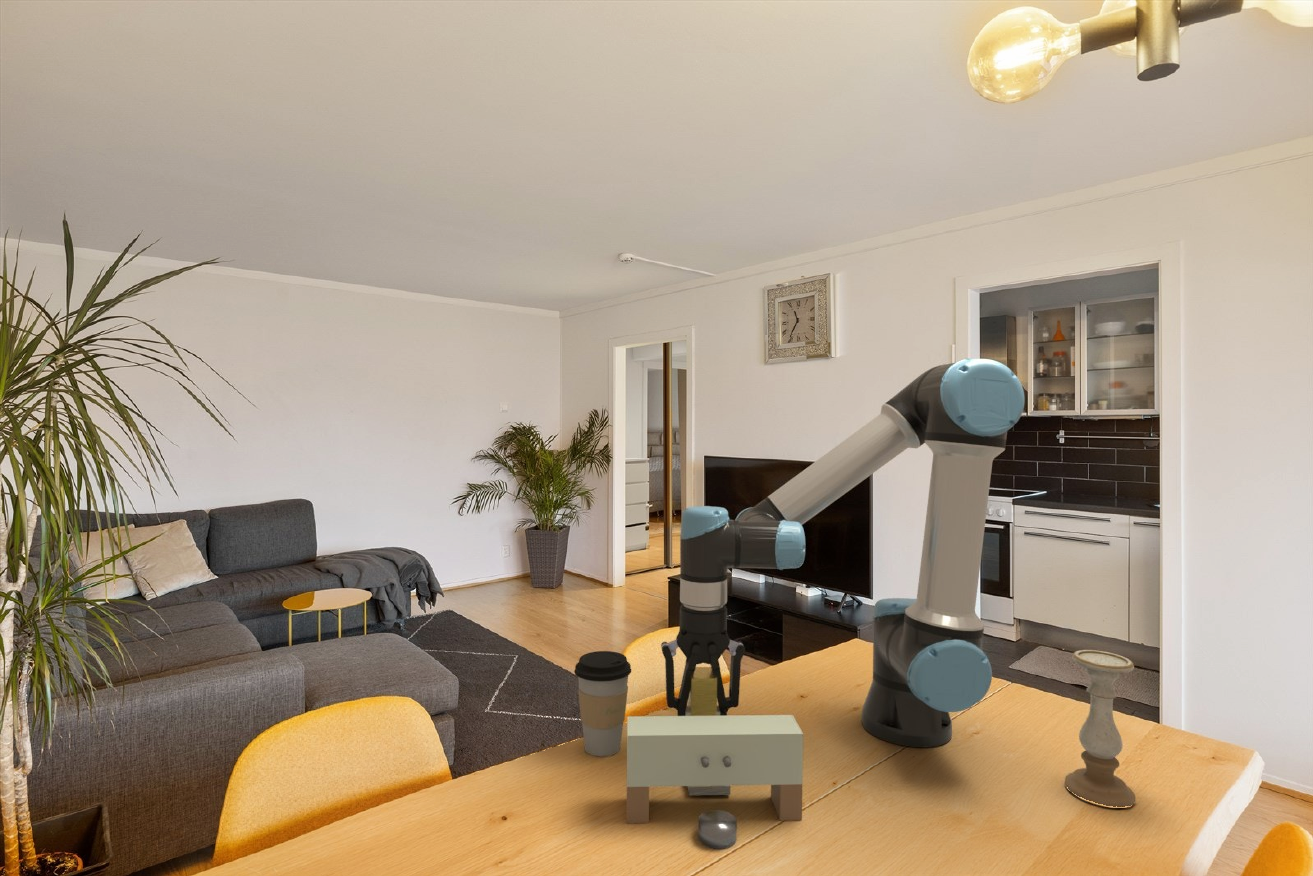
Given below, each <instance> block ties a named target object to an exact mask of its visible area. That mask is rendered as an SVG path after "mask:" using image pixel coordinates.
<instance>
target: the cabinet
mask: <svg viewBox="0 0 1313 876" xmlns="http://www.w3.org/2000/svg"><path fill="white" fill-rule="evenodd" d="M626 722H627V723H626V725H627V727H626V733H627V734H626V824H649V823H650V822H649V821H650V787H688V786H722V785H730V786H767V785H769V786H770V798H771V801H772V803H773V806H774V809H775V811H776V813H777V816H778V819H779V821H783V822H784V821H786V822H787V821H802V820H803V777H804V776H803V774H804V773H803V771H804V767H803V765H804V763H803V762H804V761H803V759H804V733H803V731H802V729H801V728H800V726H799V723H798V722H797V721H796V718H795V717H794V715H793V714H764V715H763V714H758V715H755V714H753V715H751V714H750V715H745V714H744V715H741V714H740V715H727V716H677V715H658V716H657V715H655V716H654V715H651V716H644V715H642V716H639V715H638V716H636V715H635V716H627V719H626Z"/></svg>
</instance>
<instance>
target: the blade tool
mask: <svg viewBox="0 0 1313 876" xmlns="http://www.w3.org/2000/svg"><path fill="white" fill-rule="evenodd" d="M687 706H689V709H690V716H717V706H718V701H717V677H716V675H713V673H712V670H711V666H696V668H695V671H694V675H693V676H691V689H690V693H689V698H688V702H687ZM687 792H688V795H689V796H723V795H724V796H730V795H731V785H722V786H687Z"/></svg>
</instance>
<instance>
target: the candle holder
mask: <svg viewBox="0 0 1313 876" xmlns="http://www.w3.org/2000/svg"><path fill="white" fill-rule="evenodd" d="M1071 657H1072V661H1073V662H1074V663H1076V664H1077V665H1078V666H1081V667H1084V668H1085V672H1086V674H1087V675H1088V676H1089V677H1090V684H1089V686H1088V687H1086V690H1085V691H1086V692H1087V693H1088V694H1089V696H1090V701H1089V702H1090V705H1089V712H1088V716H1087V717H1086V720H1085V721H1084V722H1083V724H1082V726H1081V728H1080V730H1079V733H1078V739H1079V742H1080V745H1081V746H1082V748H1083V749H1084V751H1082V752H1081V754H1080V757H1081V759H1082V761H1083V763H1084V765H1085V767H1084V768H1083V767H1082V768H1077V769H1075V770H1074V771H1073V772H1070V773H1068V774H1067V775H1066V776H1065V777H1064V786H1065V785H1066V786H1065V788H1066V787H1068V789H1069V790H1070V791H1071V792H1073V793H1074V794H1076V795H1077V796H1079V797H1082V798H1084V799H1086V800H1089V801H1093V802H1095V803H1098V804H1103V805H1106V806H1113V807H1116V806H1117V807H1125V806H1131V805H1132V804H1134V802H1135V803H1136V794H1135V793H1134V791H1133V790H1132V788H1130V786H1128V785H1127V784H1126V782H1125V781H1124V780H1123V779H1121V778H1120V777H1118V776H1116V775H1114V774H1115V773H1114V772H1115V771H1116V770H1117V768H1119V767H1120V765H1121V764H1120V762H1119V760H1118V758H1116V757H1117V756H1119V754H1121V752H1122V750H1123V740H1122V737H1121V734H1120V732H1119V729H1118V728H1117V724H1116V722H1115V720H1114V712H1113V709H1114V708H1113V707H1114V706H1113V703H1114V699H1116V698H1117V697H1118V693H1117V692H1116V690H1115V689H1114V682H1116V680H1118V679H1119V678H1120V674H1128V673H1131V672H1133V671H1134V669H1135V665H1134V663H1133V661H1132V660H1130V659H1129V658H1127V657H1125V656H1122V655H1120V654H1116V653H1113V652H1108V651H1105V650H1104V651H1102V650H1095V649H1080V650H1076V651H1074V652H1073V654H1072V656H1071ZM1134 805H1135V804H1134Z"/></svg>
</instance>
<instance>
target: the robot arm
mask: <svg viewBox="0 0 1313 876" xmlns="http://www.w3.org/2000/svg"><path fill="white" fill-rule="evenodd" d="M1025 400H1026V399H1025V392H1024V388H1023V386H1022V383H1021V381H1020V380H1019V378H1018V376H1017V375H1015V372H1013V371H1012V370H1011V368H1009V367H1008V366H1006V365H1005V364H1004V363H1002V362H999V361H997V360H993V359H989V358H965V359H962V360H960V361H956V362H951V363H946V364H945V363H944V364H941V365H937V366H934V367H932V368H930V369H928V370H925V371H924V372H923V373H921V374H920V375H919V376H917V377H916V378H915V379H913V380H912V382H911V381H910V383H909V384H908V385H906V386H905V387H904V388H903V389H902V390H900V391H899V392H898V393H896V394H895V395H894V396H893V397H891V398H890V399H889V400H888V401H886V402H884V404H882V405H881V409H880V413H879V414H878V415H877V416H875V417H874V418H873V419H871V420H870V421H869V422H868V423H866V424H865V425H863V426H862V427H860V428H859V429H858V430H857V431H855V432H854V433H853V434H851V435H849V436H848V437H847V438H845V439H844V440H842V442H840V443H839V444H837V445H836V446H835V447H834V448H832V449H830V450H829V451H828V452H826V453H825V454H824V455H823V456H821V457H820V458H819V459H817V460H816V461H814V462H813V463H812V464H811V465H809V466H807V467H806V468H805V469H803V470H802V471H801V472H799V473H798V474H797V475H795V476H794V477H792V478H791V479H790V480H787V482H785V484H783V485H782V486H780V487H779V488H778V489H776V490H775V491H774V492H772V493H771V494H770V495H768V496H766V498H764V499H762V500H761V501H760V502H759V503H757V504H755V505H754V506H753V507H748V508H745V509H743V510H741V511H740V512H739V513H738V514H737V516H736V518H735V519H730V517H729V511H728V510H727V509H726V508H725V507H721V506H710V505H701V506H690V507H687V508H685V509H684V510H683V512H682V514H681V518H680V519H681V520H680V521H681V522H680V537H679V541H680V542H679V543H680V544H679V545H680V546H679V549H680V551H679V552H680V553H679V554H680V558H679V559H680V560H679V561H680V563H679V565H680V567H679V569H680V570H679V571H680V577H679V580H680V581H679V582H680V583H679V586H680V587H679V601H680V603H681V605H680V606H679V630H678V634H677V636H676V637H675V639H674V640H672V641H669V642H667V641H662V643H661V644H660V646H661V647H660V648H661V652H662V655H663V657H664V659H665V661H664V662H665V665H664V666H665V668H664V669H665V696H666V697H665V698H666V705H667V707H668V709H675V710H676V711H677V715H676V716H690V709H689V706H688V698H689V693H690V689H691V676H693V675H694V671H695V668H696V667H697V665H700V664H706V665H710V667H711V670H712V673H713V675H716V677H717V716H728V712H729V709H731V708H737V707H738V706H739V703H740V686H741V685H740V684H741V667H742V664H741V663H742V659H743V657H744V654H745V652H746V648H745V646H744V644H743V641H740V640H739V641H734V640H732V639H730V637H729V635H728V632H727V630H728V626H727V625H728V623H727V622H728V620H727V619H728V608H727V606H726V604H727V602H728V569H729V568H732V569H770V570H771V569H772V570H773V569H774V570H775V569H777V570H780V571H783V570H787V569H798V568H800V567H801V566H802V565H803V564H804V561H805V557H806V536H805V535H806V534H805V531H804V527H803V525H804V524H806V522H808V521H809V520H811V519H812V518H813V517H815V516H816V515H818V514H819V513H820V512H822V511H823V510H825V509H826V508H827V507H829V506H831V504H833V503H834V502H835V501H837V500H838V499H840V498H841V497H842V496H844V495H845V494H846V493H848V492H849V491H851V490H852V489H853V488H855V487H857V486H858V485H859V484H861V483H862V482H863V481H864V480H866V479H867V478H869V477H870V476H871V475H873V474H874V473H875V472H877V471H878V470H880V469H881V468H882V467H884V466H885V465H886V464H888V463H889V462H890V461H892V460H893V459H894V458H896V457H897V456H898V455H900V454H902V453H904V452H905V451H906V450H907V449H918V448H920V447H921V446H923V445H924V444H925V445H926V446H927V447H928V448H929V449H930V451H931V452H932V463H931V472H930V480H929V488H928V489H929V490H928V497H927V505H926V515H925V524H924V531H923V532H924V533H923V541H922V552H921V556H920V557H921V558H920V566H919V576H918V577H919V578H918V585H917V593H916V598H908V597H907V598H905V597H903V598H902V597H897V598H895V597H892V598H890V597H889V598H882V599H879V600H877V601H876V602H875V604H874V606H873V607H874V608H873V609H874V610H873V615H872V620H873V634H872V635H873V636H872V638H873V641H872V642H873V643H872V649H873V652H872V682H871V685H870V687H869V690H868V693H867V696H866V697H865V701H864V703H863V707H862V710H861V724H862V726H863V728H864V729H865V730H866V731H867V732H868V733H869V734H870V735H873V736H874V737H876V738H879V740H882V741H883V740H884V741H886V742H889V743H890V744H891V743H892V744H895V745H900V746H904V747H912V748H931V747H933V748H934V747H938V746H943V745H946V743H949V742H950V740H951V739H952V737H953V722H952V718H951V715H950V713H957V712H958V713H959V712H962V711H966V710H969V709H970V708H972V707H973V706H974V705H976V704H978V703H980V702H981V701H982V700H983V699H984V698H985V697H986V695H987V694H988V692H989V690H990V687H991V684H992V680H993V672H992V671H993V669H992V666H991V663H990V661H989V658H988V656H987V655H986V653H985V652H984V651H983V650H982V648H983V637H984V630H985V623H984V622H983V621H982V620H981V619H980V617H979V616H978V614H977V613H976V605H977V603H976V602H977V596H978V586H979V579H980V578H979V577H980V570H981V560H982V552H983V545H984V544H983V543H984V537H985V536H984V535H985V528H986V527H985V526H986V520H987V510H988V504H989V503H988V502H989V501H988V500H989V496H990V495H989V492H990V484H991V476H992V469H993V468H992V467H993V461H994V459H995V458H996V457H998V456H999V455H1001V453H1003V452H1004V451H1005V450H1006V444H1007V435H1008V431H1009V430H1011V429H1012V427H1014V426H1015V424H1017V423H1018V422H1019V420H1020V418H1021V417H1022V414H1023V412H1024V408H1025V403H1026V402H1025ZM727 648H728V652H729V654H730V664H729V665H730V666H729V667H730V669H729V685H728V686H729V687H728V688H729V689H728V696H727V697H726V693H725V688H724V684H723V678H722V672H721V666H720V662H719V659H720V658H721V656H722V655H723V654H724V653H725V651H726V649H727ZM677 649H680V651H681V652H682V653H683V655H684V656H685V665H684V669H683V674H682V678H681V683H680V687H679V692H678V697H675V664H674V663H675V662H674V657H675V656H676V655H677Z"/></svg>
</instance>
